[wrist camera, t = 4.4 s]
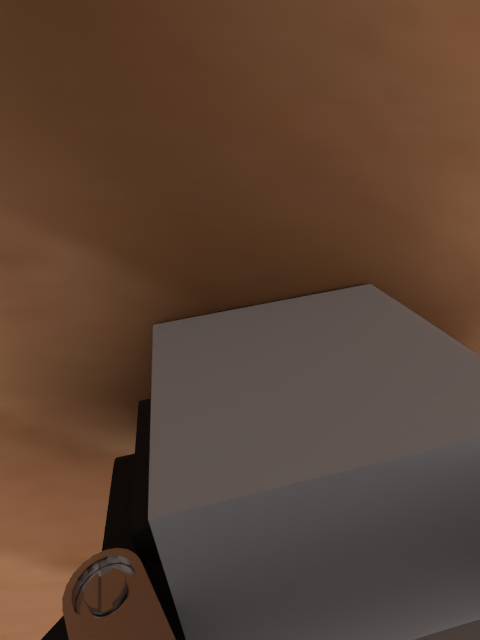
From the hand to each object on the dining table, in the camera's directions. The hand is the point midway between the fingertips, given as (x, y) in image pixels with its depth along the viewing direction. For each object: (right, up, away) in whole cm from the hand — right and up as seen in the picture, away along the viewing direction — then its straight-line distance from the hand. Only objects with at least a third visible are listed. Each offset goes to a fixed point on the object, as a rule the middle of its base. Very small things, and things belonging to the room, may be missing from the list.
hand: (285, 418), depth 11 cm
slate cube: (0, 0, +1) cm, 1 cm away
